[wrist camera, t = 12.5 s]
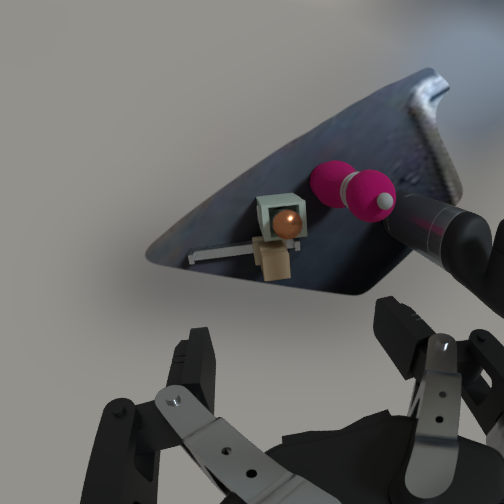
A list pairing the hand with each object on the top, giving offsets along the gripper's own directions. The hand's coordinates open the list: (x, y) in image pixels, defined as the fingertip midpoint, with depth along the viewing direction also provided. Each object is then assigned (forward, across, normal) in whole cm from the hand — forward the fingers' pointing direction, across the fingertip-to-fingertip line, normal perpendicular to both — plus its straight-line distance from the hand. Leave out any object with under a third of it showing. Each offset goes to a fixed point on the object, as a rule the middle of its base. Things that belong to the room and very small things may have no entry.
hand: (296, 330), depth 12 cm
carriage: (+33, -2, +7) cm, 34 cm away
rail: (+34, +2, +7) cm, 35 cm away
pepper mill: (+34, -13, -2) cm, 37 cm away
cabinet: (+34, -4, +2) cm, 34 cm away
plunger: (+30, -4, +2) cm, 30 cm away
